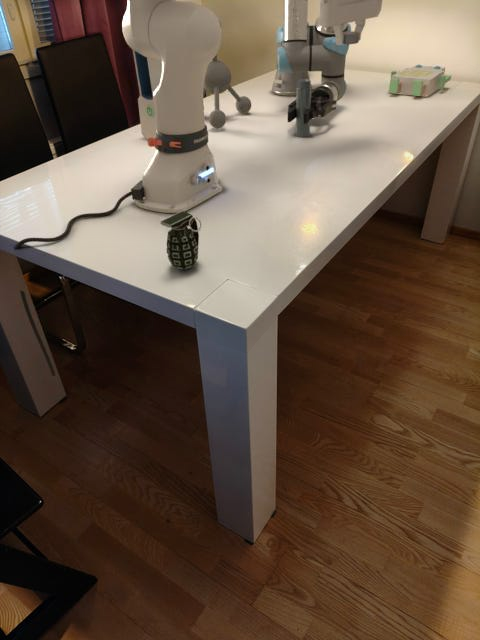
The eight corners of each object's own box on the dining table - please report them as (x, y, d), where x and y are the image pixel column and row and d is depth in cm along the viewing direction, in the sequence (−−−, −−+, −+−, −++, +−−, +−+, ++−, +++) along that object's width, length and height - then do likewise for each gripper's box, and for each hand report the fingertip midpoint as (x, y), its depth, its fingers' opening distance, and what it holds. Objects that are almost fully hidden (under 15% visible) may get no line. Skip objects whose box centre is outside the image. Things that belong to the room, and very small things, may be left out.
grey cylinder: (312, 134, 149) (314, 79, 139) (303, 138, 147) (305, 82, 137) (301, 131, 151) (303, 77, 142) (292, 135, 149) (293, 80, 140)
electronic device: (141, 137, 154) (123, 28, 136) (159, 131, 158) (144, 24, 140) (166, 145, 147) (151, 30, 129) (185, 138, 151) (172, 26, 133)
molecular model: (271, 118, 163) (270, 14, 145) (215, 133, 154) (207, 23, 136) (232, 105, 179) (227, 9, 161) (180, 117, 170) (168, 17, 151)
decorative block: (405, 62, 193) (457, 66, 183) (403, 80, 197) (453, 84, 187) (379, 75, 177) (434, 80, 167) (377, 94, 181) (431, 100, 171)
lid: (359, 40, 123) (360, 31, 122) (357, 44, 119) (358, 34, 118) (339, 41, 124) (339, 31, 123) (336, 44, 121) (336, 34, 119)
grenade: (182, 278, 88) (175, 228, 82) (162, 268, 91) (153, 219, 85) (208, 263, 92) (203, 214, 85) (187, 253, 95) (181, 205, 89)
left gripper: (335, -21, 106) (331, 50, 115) (390, -29, 117) (382, 37, 125) (313, -21, 110) (311, 48, 119) (368, -29, 120) (362, 35, 129)
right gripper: (347, 112, 157) (324, 134, 140) (297, 108, 163) (269, 128, 147) (350, 87, 152) (326, 106, 136) (297, 84, 159) (269, 102, 142)
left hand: (348, 42), depth 122 cm, fingers closed on lid, 5 cm apart
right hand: (296, 118), depth 141 cm, fingers closed on grey cylinder, 4 cm apart
